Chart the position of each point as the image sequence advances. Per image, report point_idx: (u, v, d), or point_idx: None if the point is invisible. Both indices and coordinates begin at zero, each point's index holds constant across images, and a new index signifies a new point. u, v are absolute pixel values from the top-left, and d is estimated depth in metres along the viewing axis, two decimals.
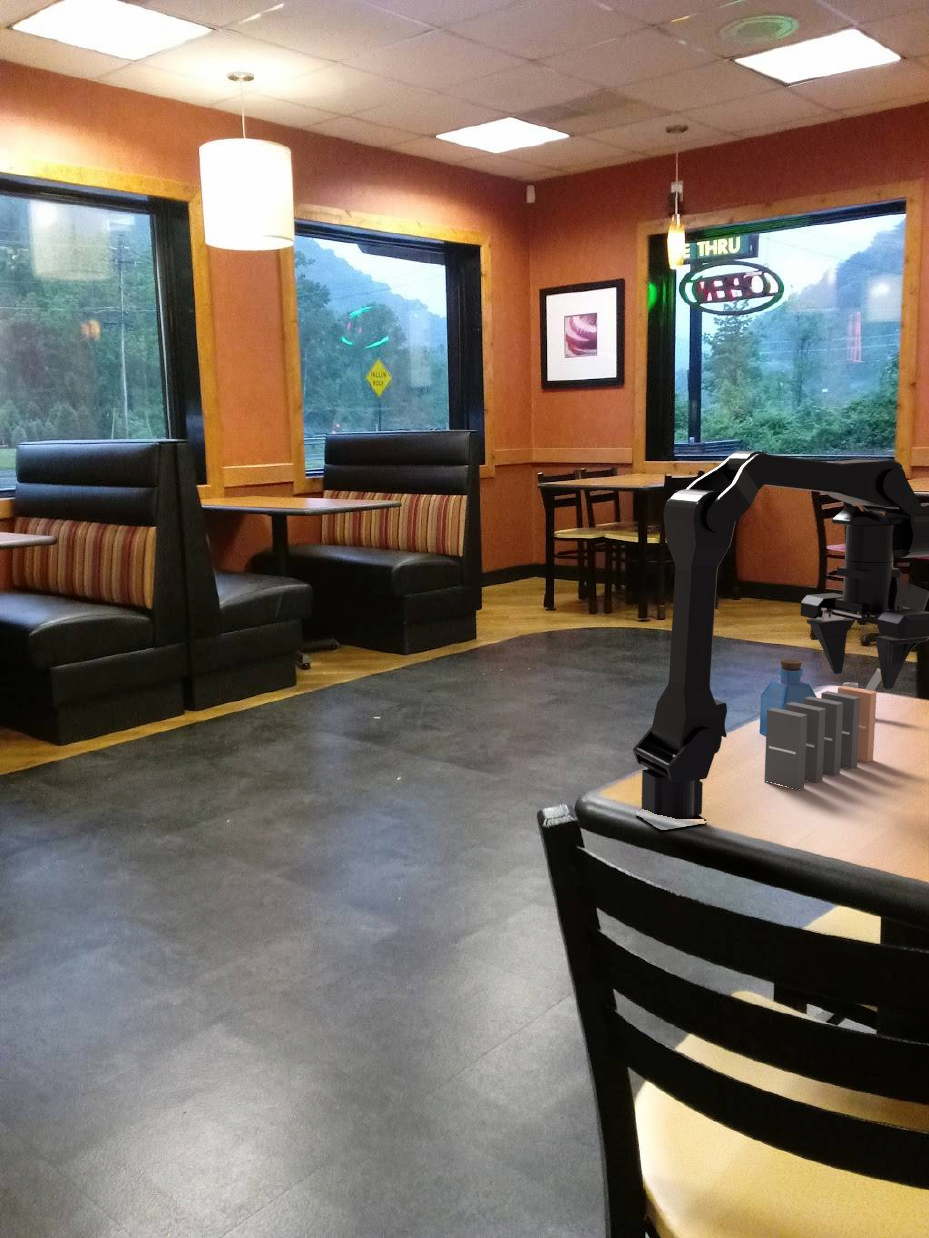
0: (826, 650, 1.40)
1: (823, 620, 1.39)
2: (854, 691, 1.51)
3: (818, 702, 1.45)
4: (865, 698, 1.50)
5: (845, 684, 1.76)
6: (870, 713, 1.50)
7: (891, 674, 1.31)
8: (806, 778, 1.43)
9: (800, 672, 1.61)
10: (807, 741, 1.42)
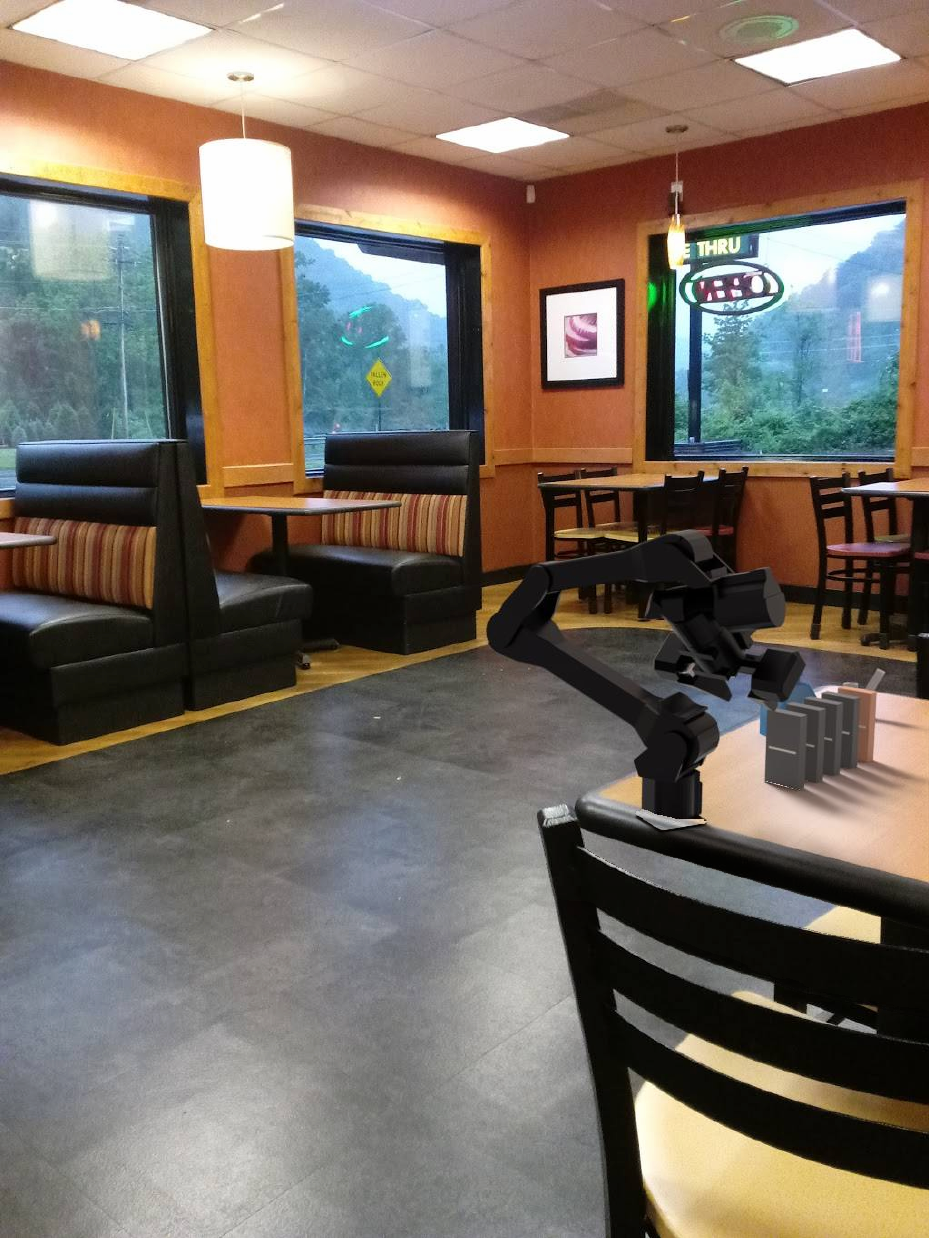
0: (711, 694, 1.34)
1: (693, 677, 1.32)
2: (854, 691, 1.51)
3: (818, 702, 1.45)
4: (865, 698, 1.50)
5: (845, 684, 1.76)
6: (870, 713, 1.50)
7: (773, 702, 1.30)
8: (806, 778, 1.43)
9: None
10: (807, 741, 1.42)
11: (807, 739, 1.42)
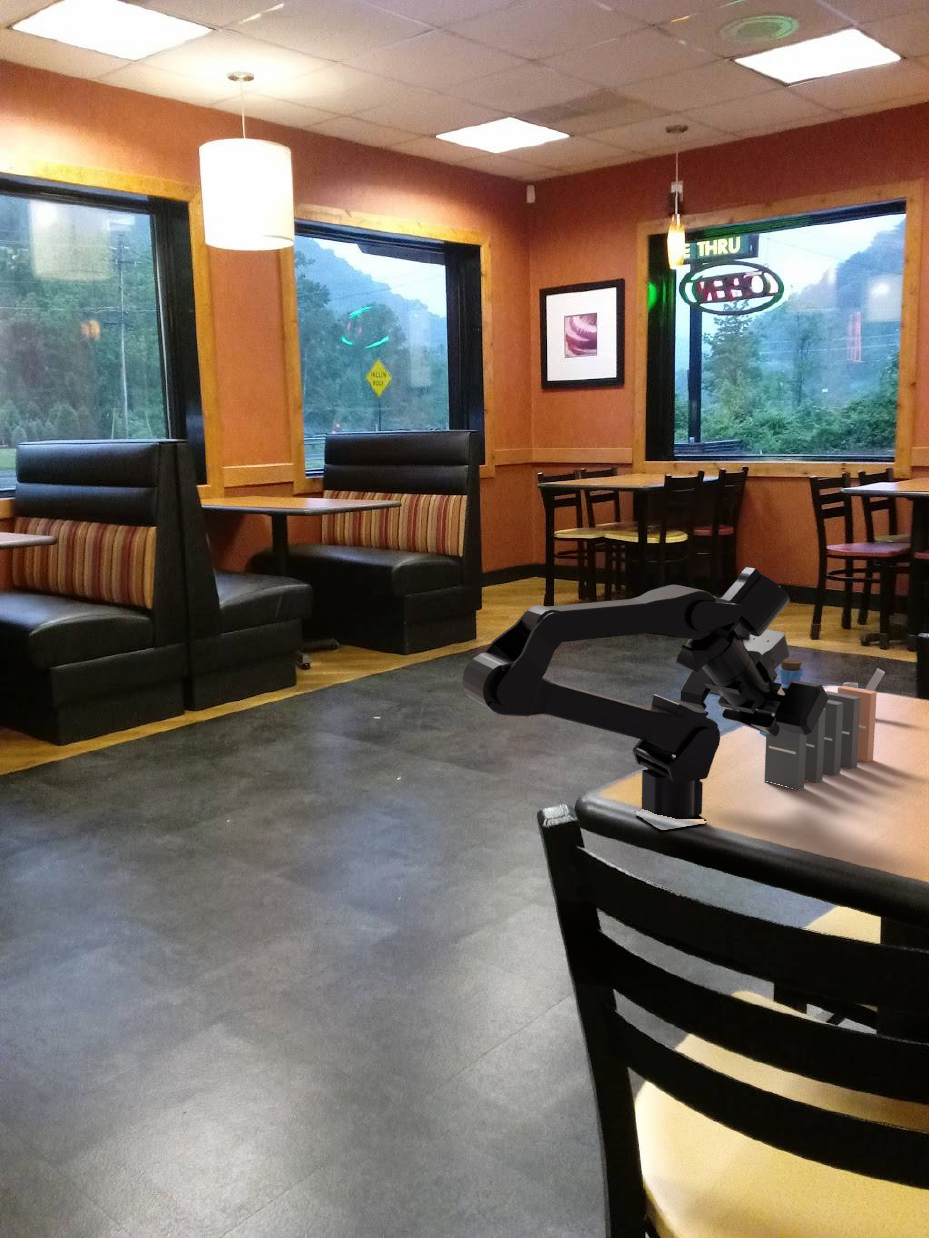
0: (756, 729, 1.36)
1: (740, 713, 1.34)
2: (854, 691, 1.51)
3: None
4: (865, 698, 1.50)
5: (845, 684, 1.76)
6: (870, 713, 1.50)
7: (775, 728, 1.36)
8: (806, 778, 1.43)
9: (800, 672, 1.61)
10: (807, 741, 1.42)
11: (807, 739, 1.42)
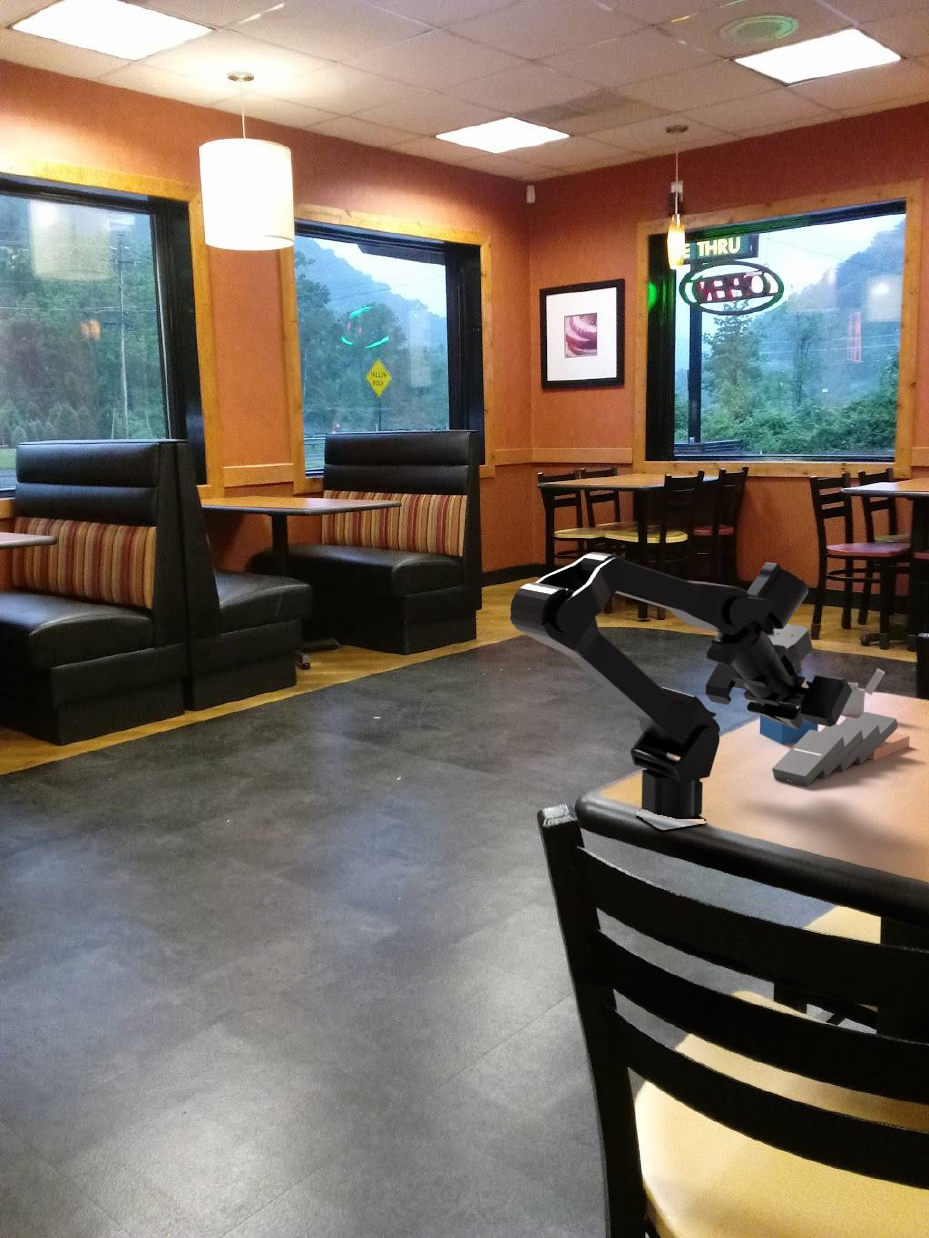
0: (780, 721, 1.40)
1: (764, 705, 1.38)
2: (893, 732, 1.60)
3: (859, 721, 1.53)
4: (901, 735, 1.58)
5: None
6: (899, 741, 1.56)
7: (798, 720, 1.40)
8: None
9: (800, 672, 1.61)
10: None
11: None
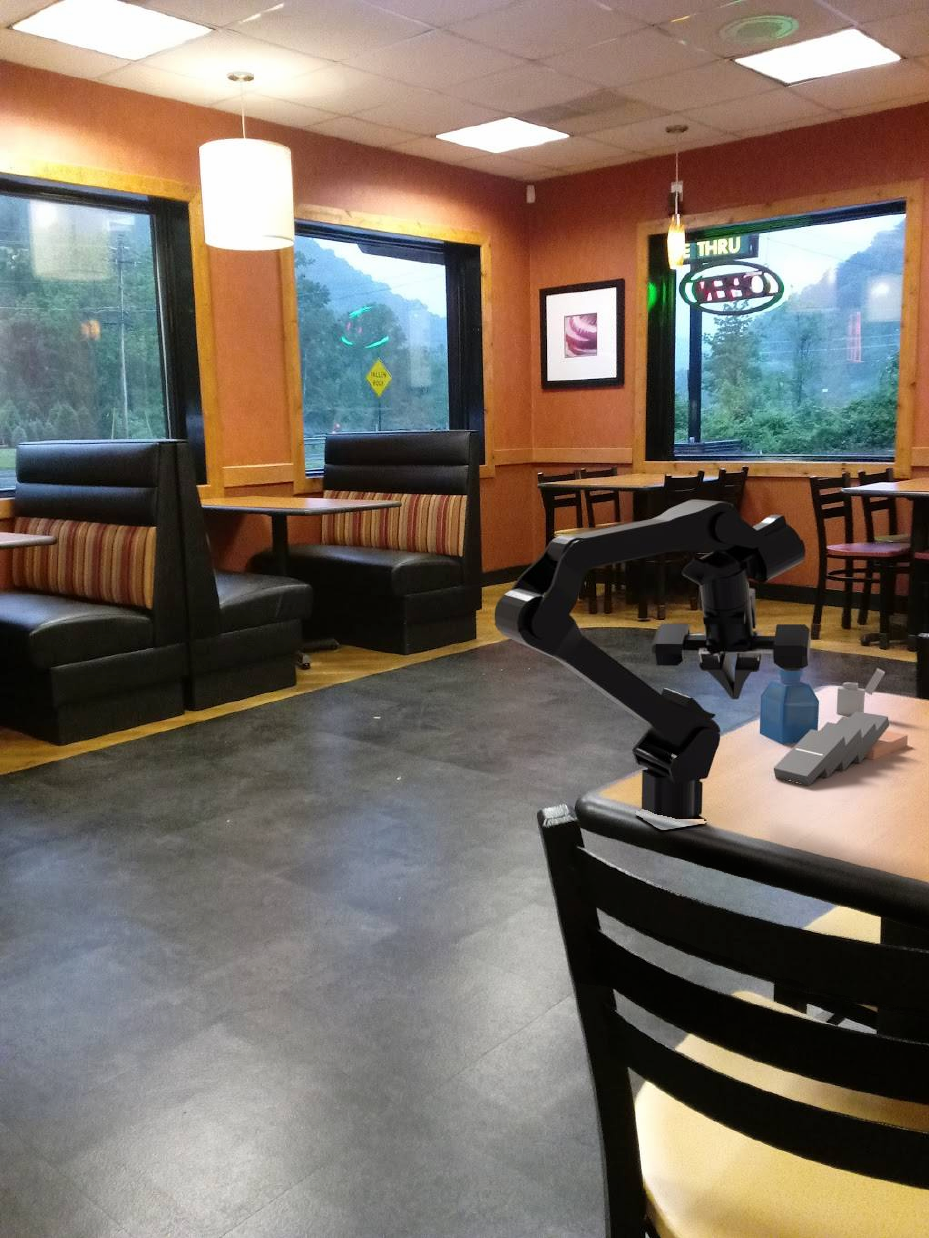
0: (727, 686, 1.34)
1: (719, 662, 1.32)
2: (891, 732, 1.60)
3: (856, 720, 1.54)
4: (900, 735, 1.58)
5: (845, 684, 1.76)
6: (898, 740, 1.56)
7: None
8: None
9: (800, 672, 1.61)
10: None
11: None
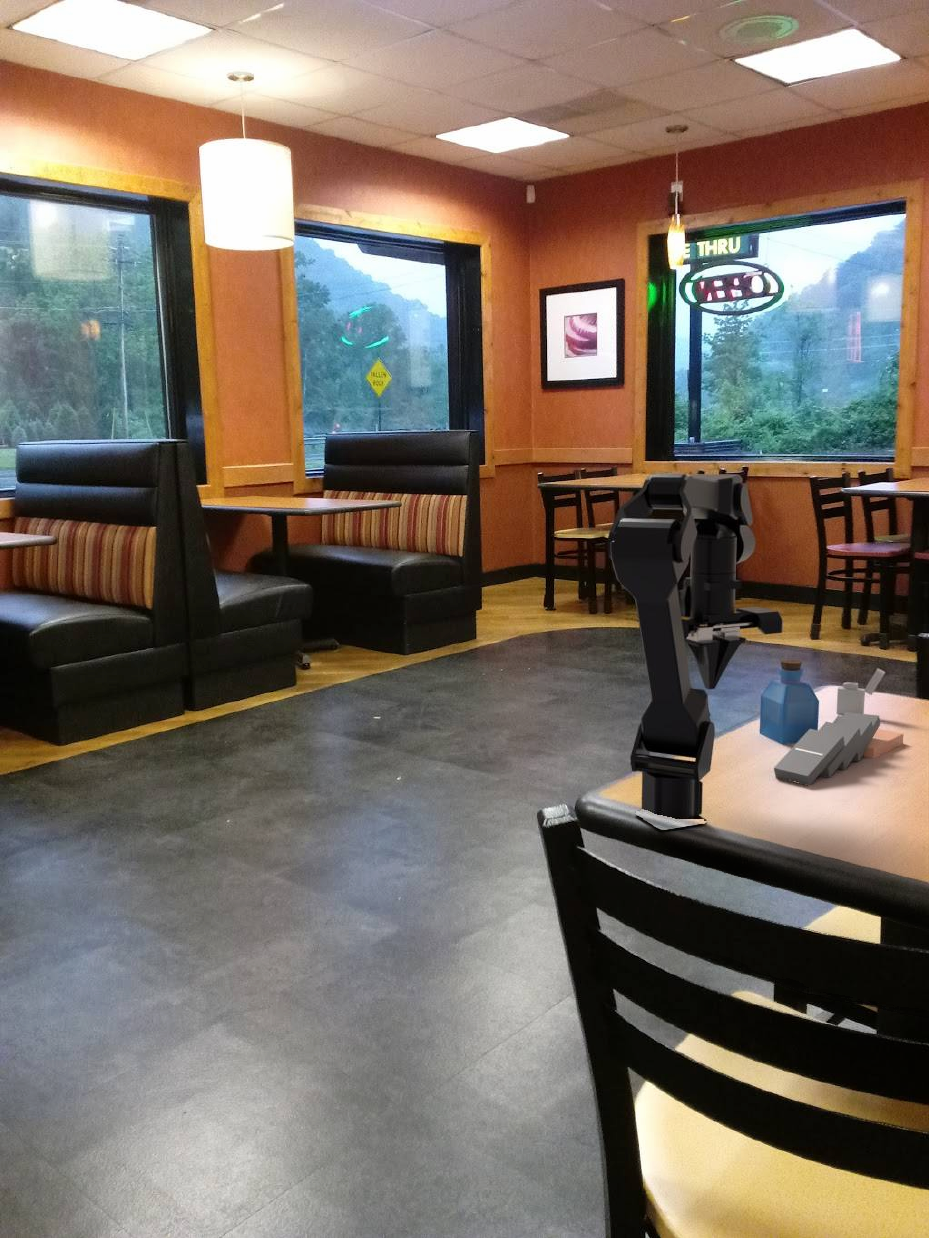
0: (714, 668, 1.38)
1: (712, 639, 1.37)
2: (886, 730, 1.61)
3: (852, 718, 1.54)
4: (896, 733, 1.59)
5: (845, 684, 1.76)
6: (894, 739, 1.57)
7: None
8: None
9: (800, 672, 1.61)
10: None
11: None
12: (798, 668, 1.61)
